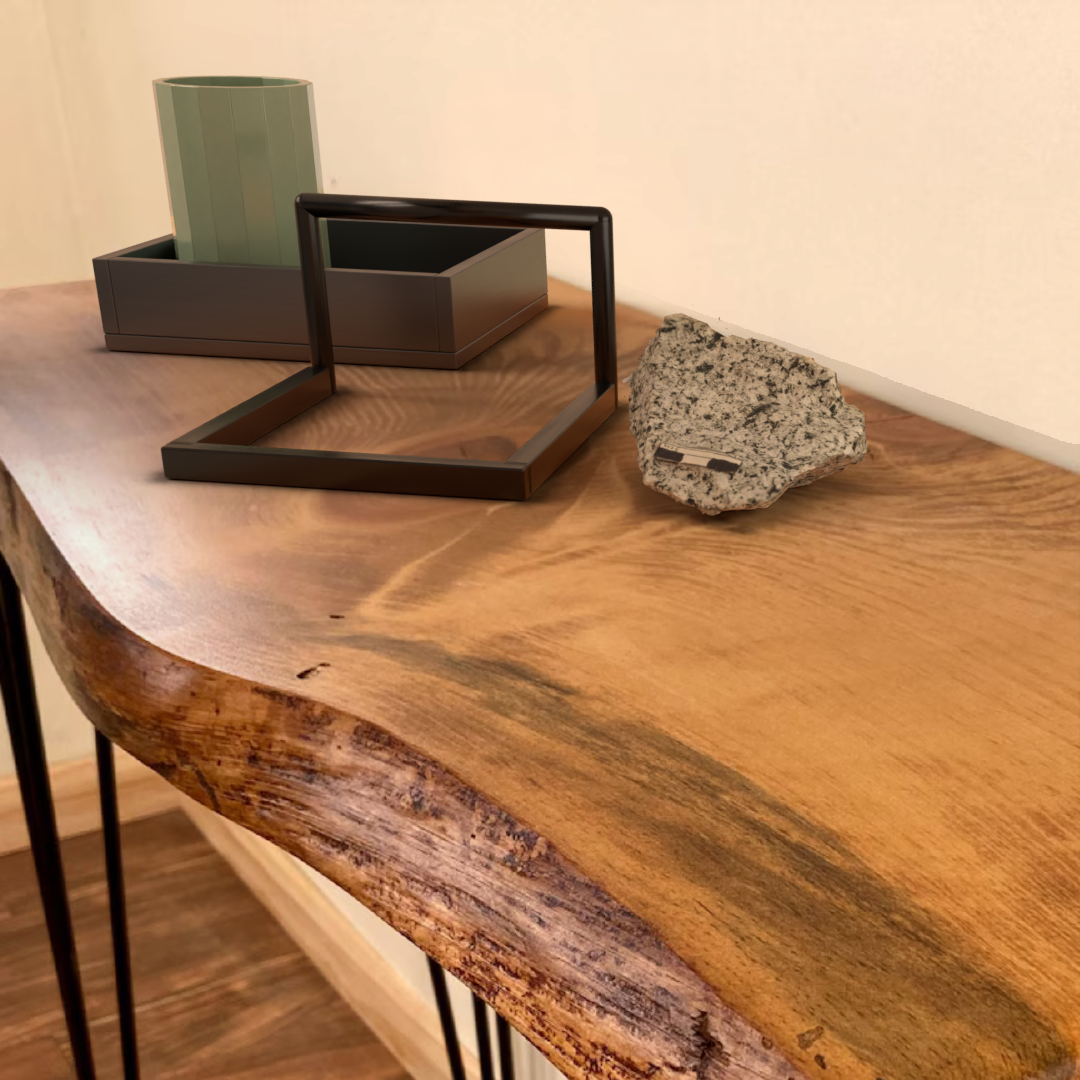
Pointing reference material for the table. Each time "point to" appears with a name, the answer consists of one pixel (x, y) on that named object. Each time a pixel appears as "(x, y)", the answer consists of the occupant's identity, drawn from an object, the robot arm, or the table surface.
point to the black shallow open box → (333, 296)
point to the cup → (238, 165)
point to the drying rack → (224, 438)
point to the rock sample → (736, 418)
